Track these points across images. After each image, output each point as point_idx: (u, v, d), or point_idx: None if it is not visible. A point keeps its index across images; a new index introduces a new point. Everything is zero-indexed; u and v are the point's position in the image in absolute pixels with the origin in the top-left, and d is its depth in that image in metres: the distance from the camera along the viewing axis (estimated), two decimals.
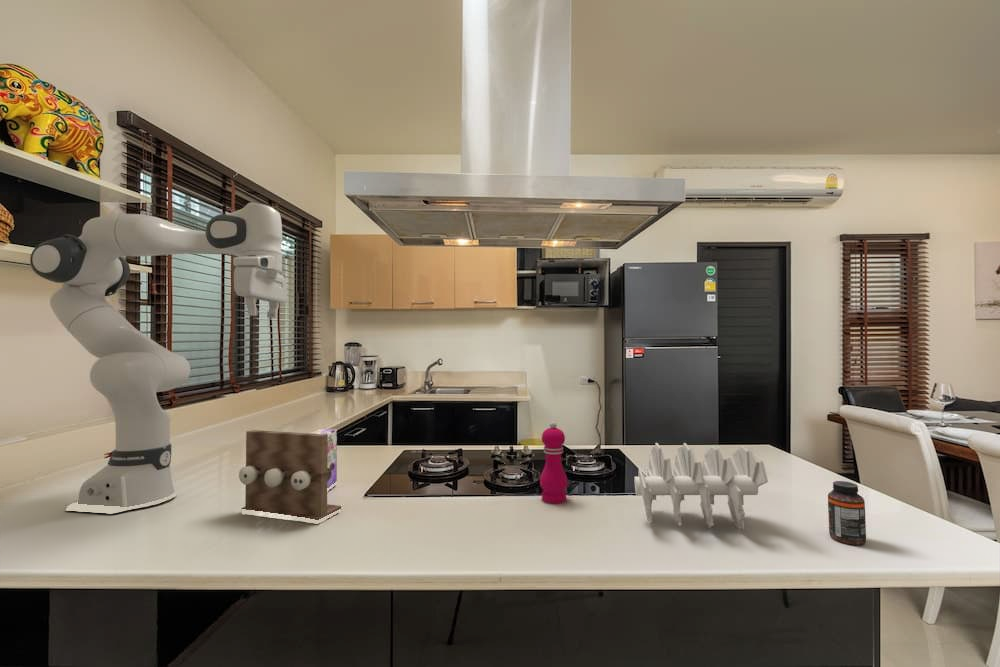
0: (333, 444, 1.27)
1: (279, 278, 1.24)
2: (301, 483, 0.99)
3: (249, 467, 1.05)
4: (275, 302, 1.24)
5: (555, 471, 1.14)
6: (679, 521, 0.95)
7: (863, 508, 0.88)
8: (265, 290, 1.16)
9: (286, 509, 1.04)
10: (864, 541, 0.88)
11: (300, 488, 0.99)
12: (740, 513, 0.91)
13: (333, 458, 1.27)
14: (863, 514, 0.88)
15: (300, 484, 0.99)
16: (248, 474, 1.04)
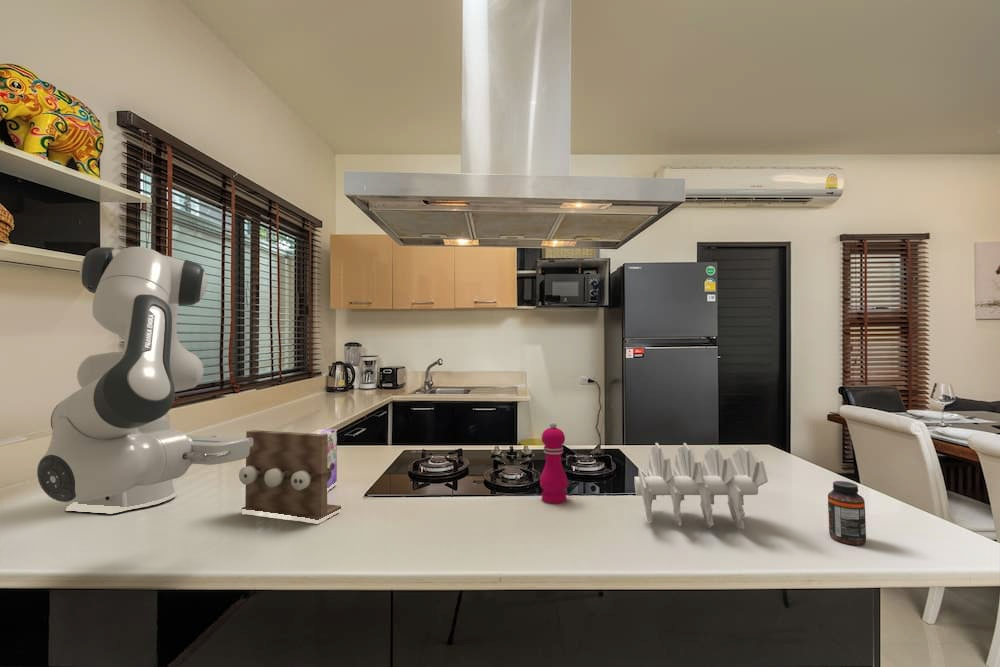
0: (333, 444, 1.27)
1: None
2: (301, 483, 0.99)
3: (249, 467, 1.05)
4: None
5: (555, 471, 1.14)
6: (679, 521, 0.95)
7: (863, 508, 0.88)
8: None
9: (286, 509, 1.04)
10: (864, 541, 0.88)
11: (300, 488, 0.99)
12: (740, 513, 0.91)
13: (333, 458, 1.27)
14: (863, 514, 0.88)
15: (300, 484, 0.99)
16: (248, 474, 1.04)
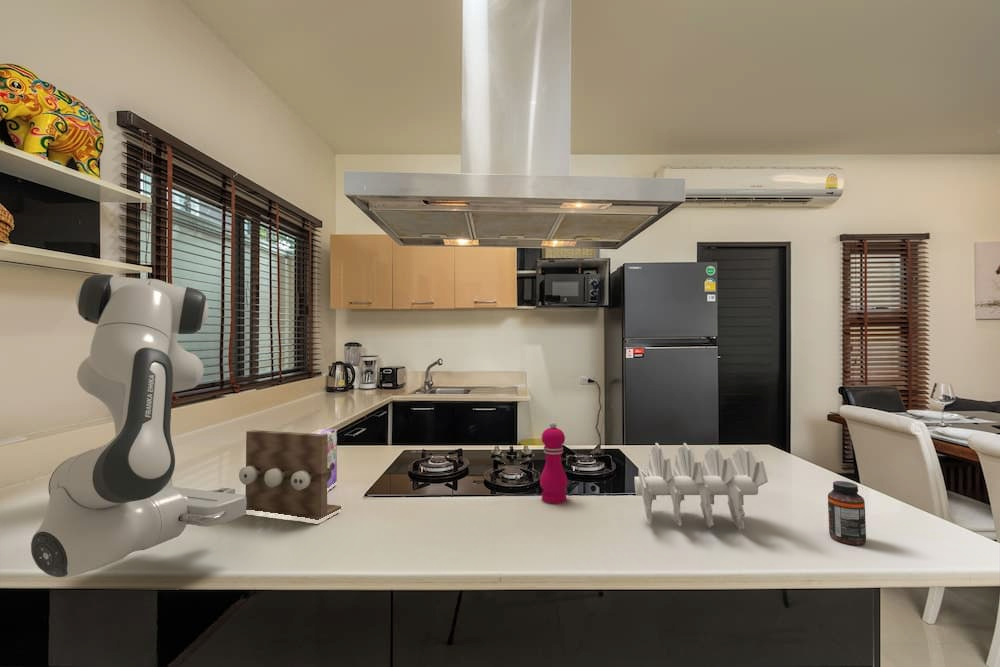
0: (333, 444, 1.27)
1: None
2: (301, 483, 0.99)
3: (249, 467, 1.05)
4: None
5: (555, 471, 1.14)
6: (679, 521, 0.95)
7: (863, 508, 0.88)
8: None
9: (286, 509, 1.04)
10: (864, 541, 0.88)
11: (300, 488, 0.99)
12: (740, 513, 0.91)
13: (333, 458, 1.27)
14: (863, 514, 0.88)
15: (300, 484, 0.99)
16: (248, 474, 1.04)
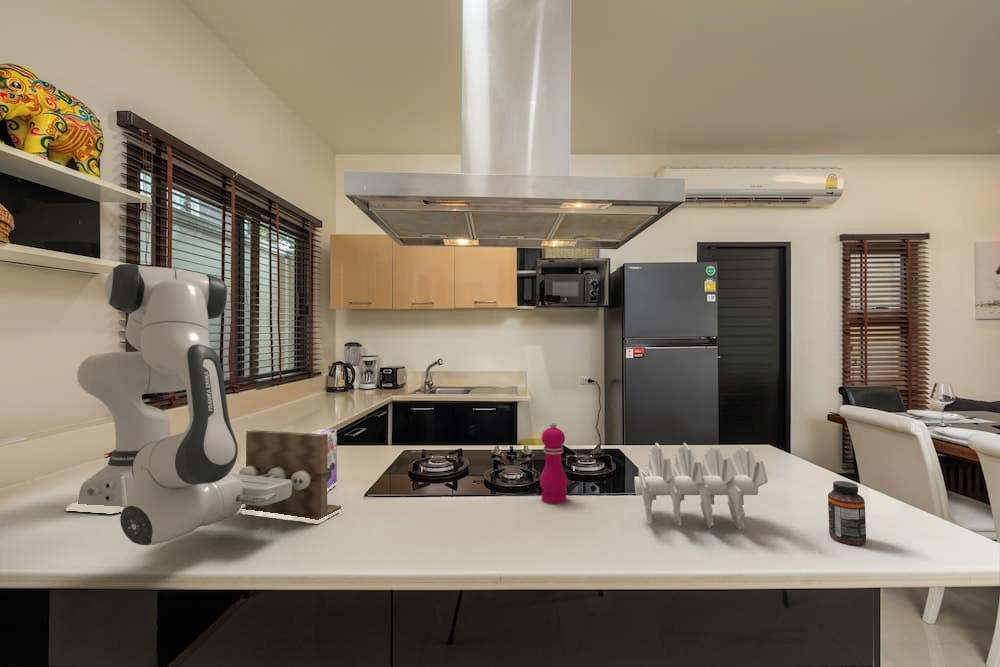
0: (333, 444, 1.27)
1: None
2: (301, 483, 0.99)
3: (249, 467, 1.05)
4: None
5: (555, 471, 1.14)
6: (679, 521, 0.95)
7: (863, 508, 0.88)
8: None
9: (286, 509, 1.04)
10: (864, 541, 0.88)
11: (300, 488, 0.99)
12: (740, 513, 0.91)
13: (333, 458, 1.27)
14: (863, 514, 0.88)
15: (300, 484, 0.99)
16: (248, 474, 1.04)
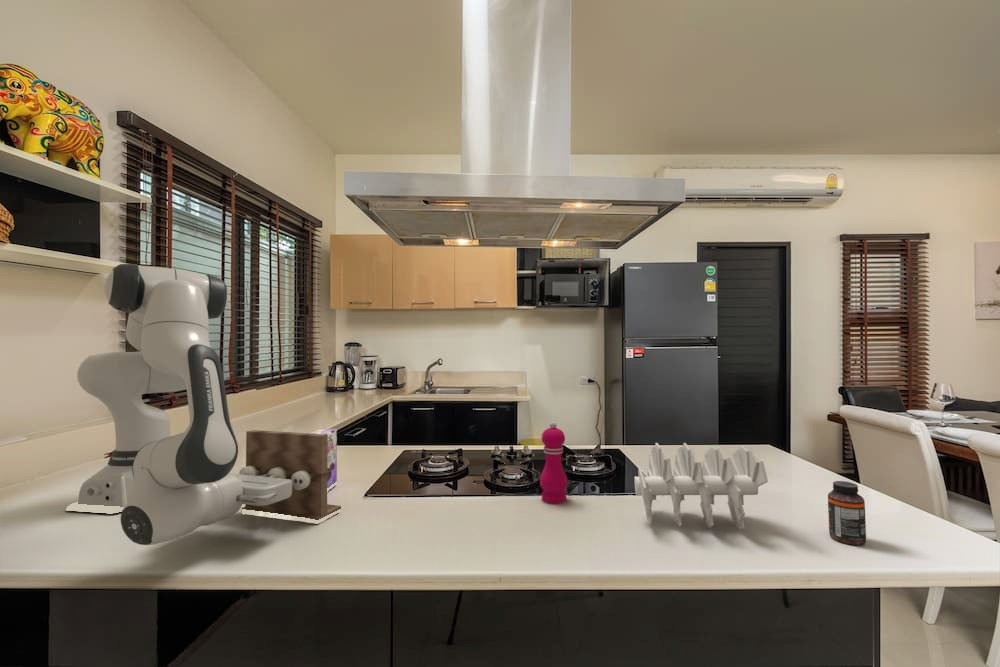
0: (333, 444, 1.27)
1: None
2: (301, 483, 0.99)
3: (249, 467, 1.05)
4: None
5: (555, 471, 1.14)
6: (679, 521, 0.95)
7: (863, 508, 0.88)
8: None
9: (286, 509, 1.04)
10: (864, 541, 0.88)
11: (300, 488, 0.99)
12: (740, 513, 0.91)
13: (333, 458, 1.27)
14: (863, 514, 0.88)
15: (300, 484, 0.99)
16: (248, 474, 1.04)
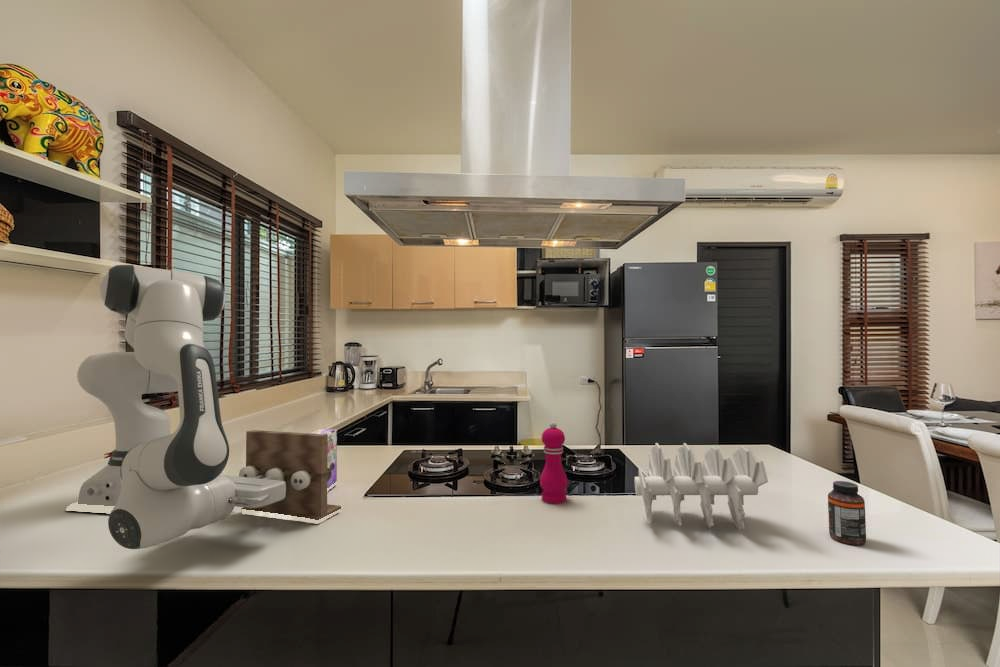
0: (333, 444, 1.27)
1: None
2: (301, 483, 0.99)
3: (249, 467, 1.05)
4: None
5: (555, 471, 1.14)
6: (679, 521, 0.95)
7: (863, 508, 0.88)
8: None
9: (286, 509, 1.04)
10: (864, 541, 0.88)
11: (300, 488, 0.99)
12: (740, 513, 0.91)
13: (333, 458, 1.27)
14: (863, 514, 0.88)
15: (300, 484, 0.99)
16: (248, 474, 1.04)
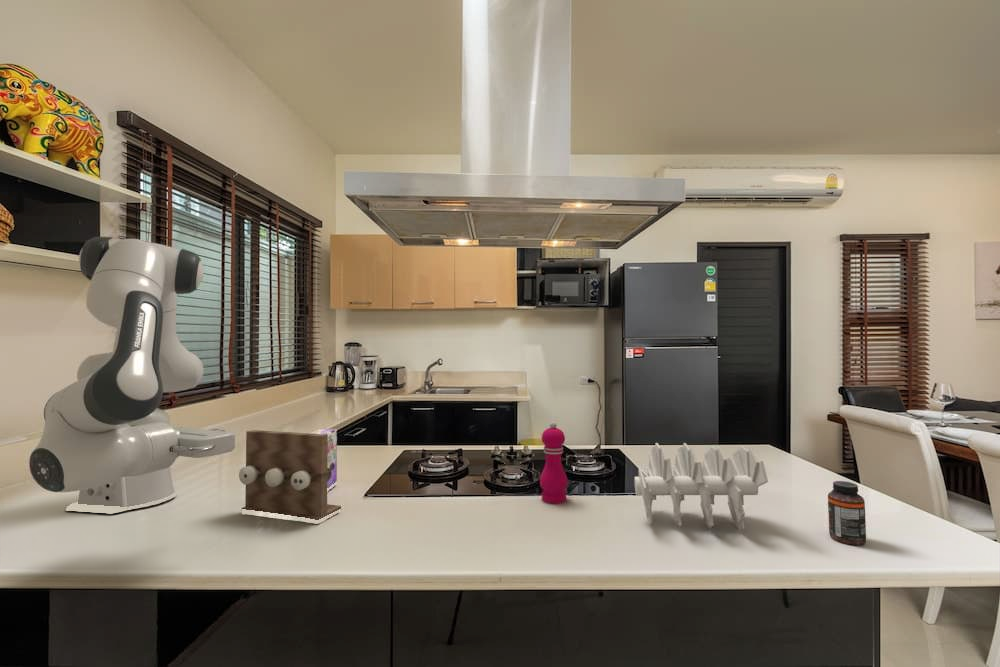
0: (333, 444, 1.27)
1: None
2: (301, 483, 0.99)
3: (249, 467, 1.05)
4: None
5: (555, 471, 1.14)
6: (679, 521, 0.95)
7: (863, 508, 0.88)
8: None
9: (286, 509, 1.04)
10: (864, 541, 0.88)
11: (300, 488, 0.99)
12: (740, 513, 0.91)
13: (333, 458, 1.27)
14: (863, 514, 0.88)
15: (300, 484, 0.99)
16: (248, 474, 1.04)
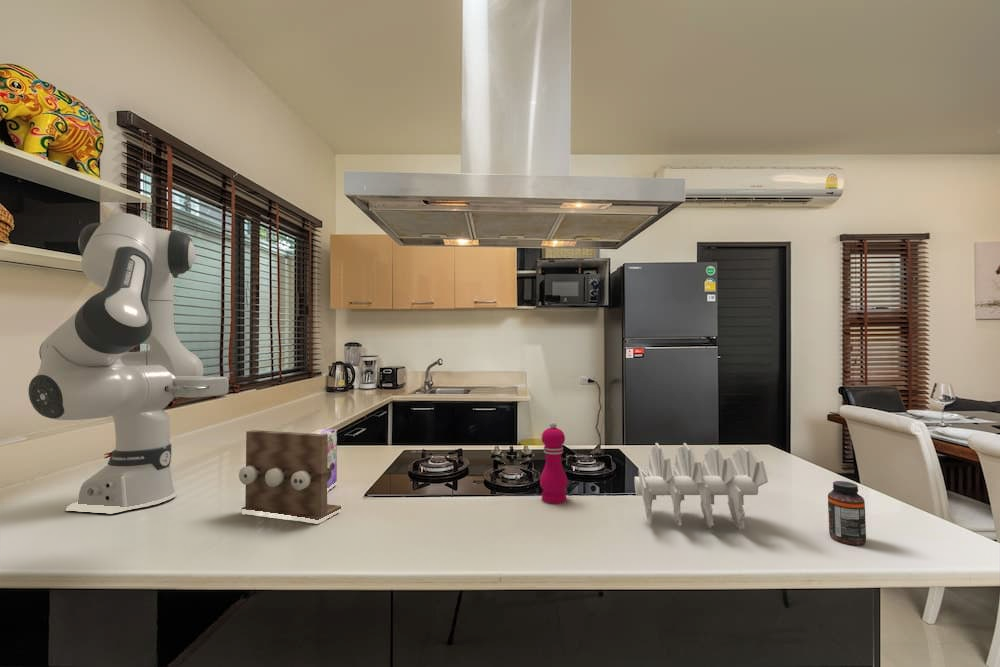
0: (333, 444, 1.27)
1: None
2: (301, 483, 0.99)
3: (249, 467, 1.05)
4: None
5: (555, 471, 1.14)
6: (679, 521, 0.95)
7: (863, 508, 0.88)
8: None
9: (286, 509, 1.04)
10: (864, 541, 0.88)
11: (300, 488, 0.99)
12: (740, 513, 0.91)
13: (333, 458, 1.27)
14: (863, 514, 0.88)
15: (300, 484, 0.99)
16: (248, 474, 1.04)
